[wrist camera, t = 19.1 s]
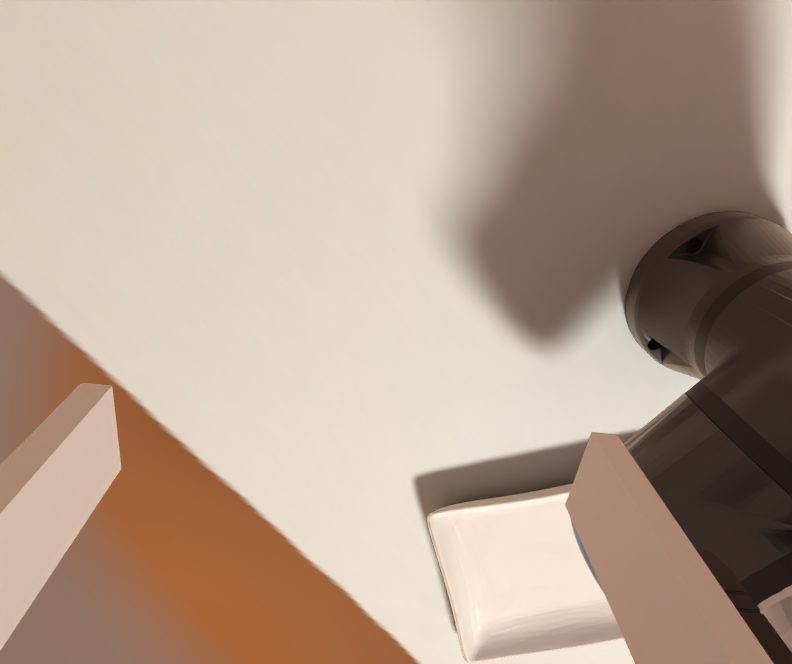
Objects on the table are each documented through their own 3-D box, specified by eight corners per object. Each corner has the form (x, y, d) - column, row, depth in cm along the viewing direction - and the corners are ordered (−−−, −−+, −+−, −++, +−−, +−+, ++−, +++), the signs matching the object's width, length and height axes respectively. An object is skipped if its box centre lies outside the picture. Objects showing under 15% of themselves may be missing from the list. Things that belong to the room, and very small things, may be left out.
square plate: (421, 491, 58) (424, 517, 55) (666, 442, 57) (686, 466, 53) (461, 641, 70) (466, 670, 66) (666, 604, 68) (682, 633, 65)
